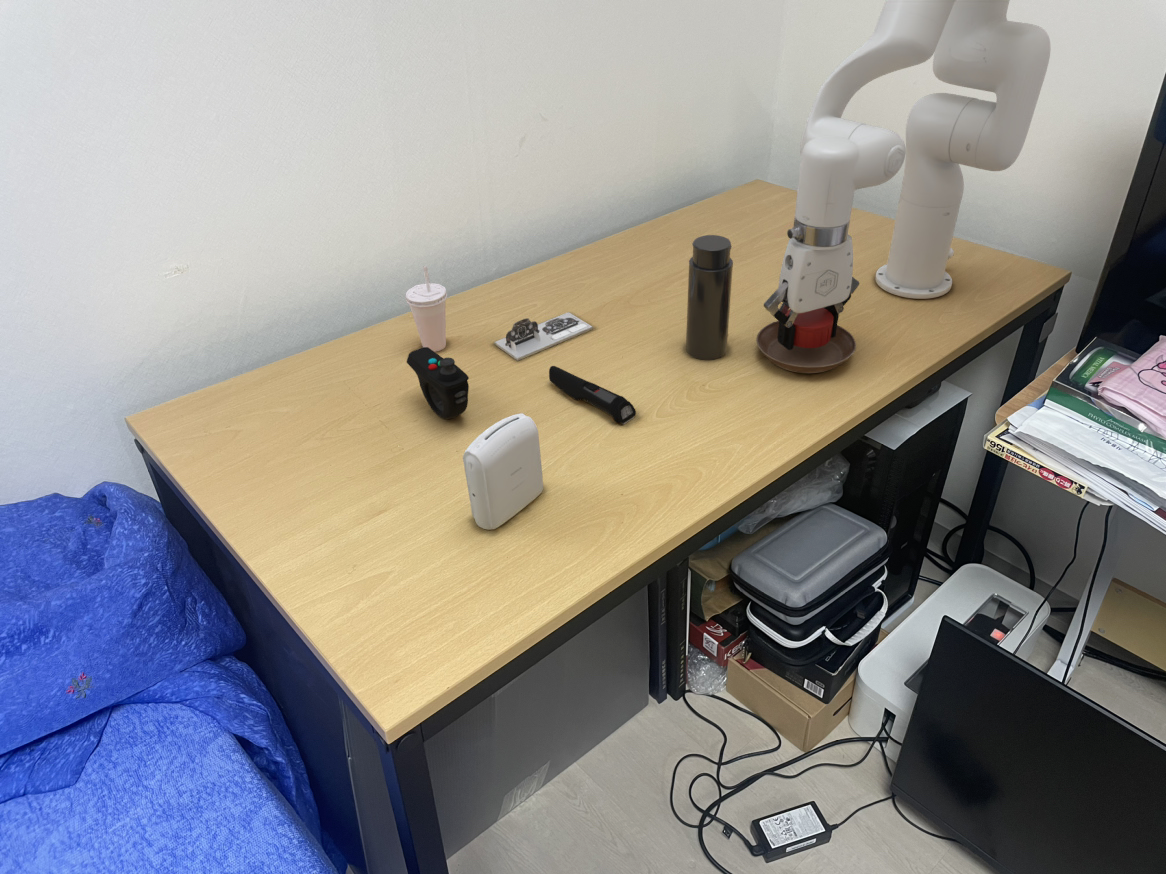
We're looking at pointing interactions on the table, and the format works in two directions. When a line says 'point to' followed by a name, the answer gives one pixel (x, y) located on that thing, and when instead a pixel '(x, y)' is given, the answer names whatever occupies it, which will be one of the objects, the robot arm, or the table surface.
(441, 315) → the smoothie
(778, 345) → the saucer
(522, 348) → the car cutout
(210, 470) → the table surface
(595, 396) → the electric trimmer
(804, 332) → the lid
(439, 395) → the controller
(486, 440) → the photo printer
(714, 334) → the thermos
